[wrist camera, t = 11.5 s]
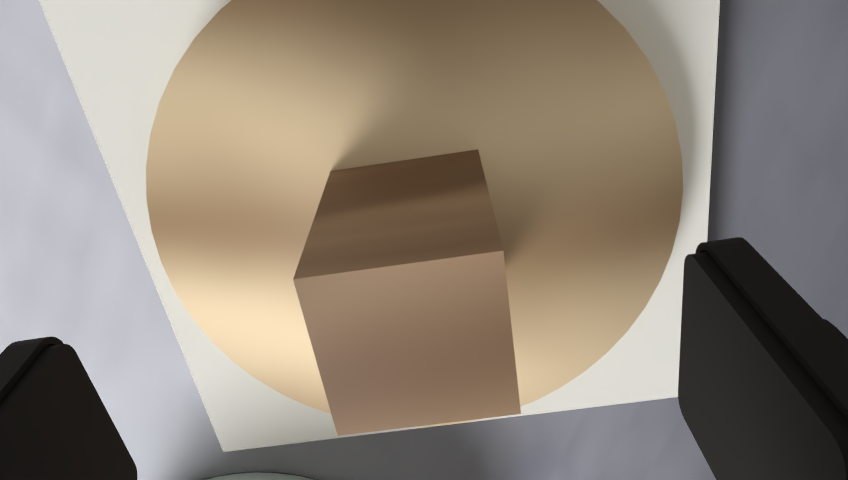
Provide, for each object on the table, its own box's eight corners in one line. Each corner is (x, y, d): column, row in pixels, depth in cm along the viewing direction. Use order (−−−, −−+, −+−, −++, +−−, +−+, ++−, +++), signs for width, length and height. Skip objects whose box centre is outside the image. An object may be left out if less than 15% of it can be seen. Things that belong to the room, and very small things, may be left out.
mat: (39, -60, 15) (15, -59, 14) (709, -181, 14) (729, -188, 13) (231, 429, 21) (223, 452, 20) (686, 373, 20) (698, 394, 19)
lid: (78, -15, 14) (-131, 29, 9) (675, -116, 13) (849, -136, 8) (242, 426, 20) (177, 614, 15) (663, 375, 19) (758, 554, 14)
